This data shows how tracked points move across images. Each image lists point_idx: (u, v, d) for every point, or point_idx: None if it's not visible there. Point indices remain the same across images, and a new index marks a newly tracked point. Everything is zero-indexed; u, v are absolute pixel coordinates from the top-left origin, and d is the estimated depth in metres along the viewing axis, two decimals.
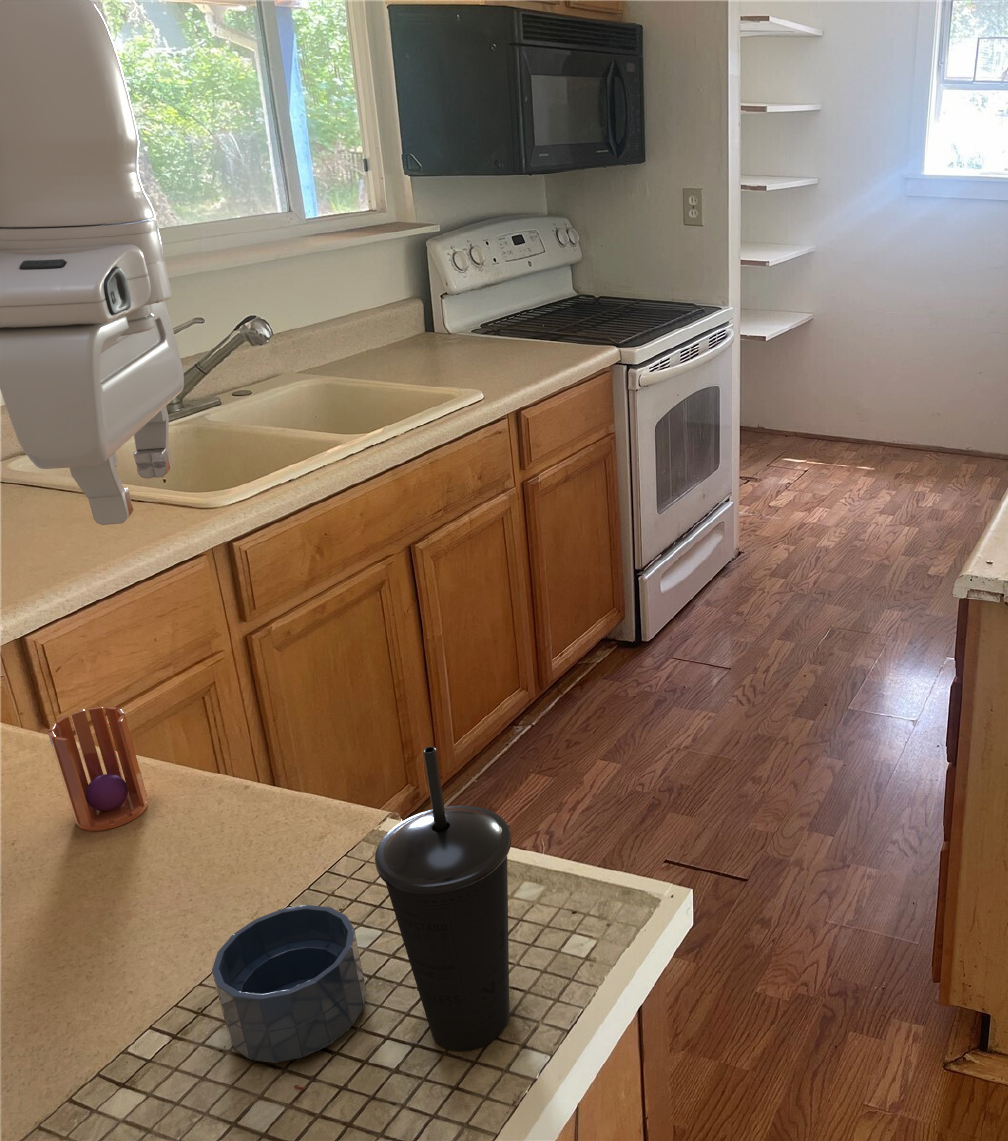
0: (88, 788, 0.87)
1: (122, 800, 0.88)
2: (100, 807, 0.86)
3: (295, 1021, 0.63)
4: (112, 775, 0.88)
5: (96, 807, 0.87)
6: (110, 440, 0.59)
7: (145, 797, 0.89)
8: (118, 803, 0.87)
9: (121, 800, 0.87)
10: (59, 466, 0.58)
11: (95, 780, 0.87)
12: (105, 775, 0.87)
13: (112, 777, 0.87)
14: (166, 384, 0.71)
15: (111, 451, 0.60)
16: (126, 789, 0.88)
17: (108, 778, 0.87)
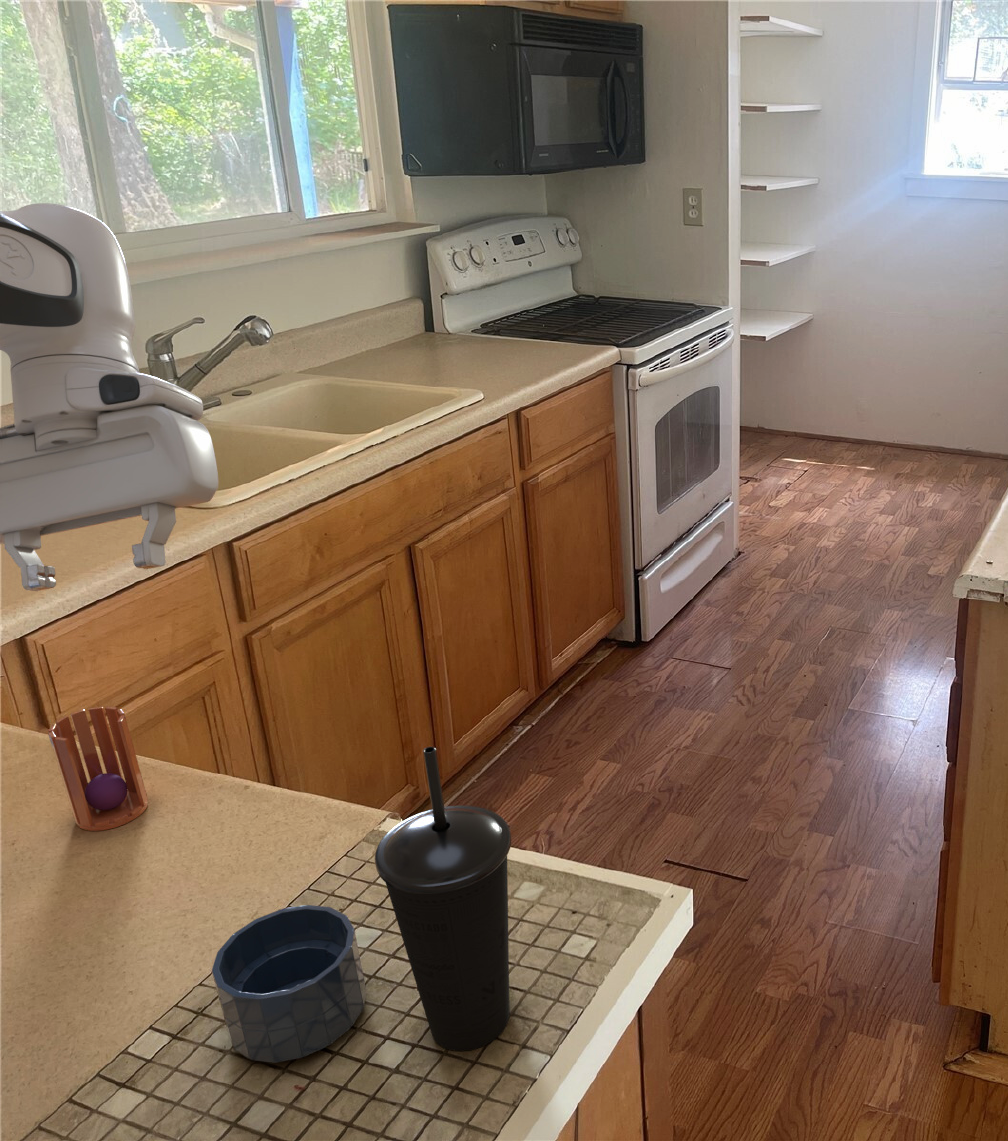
0: (87, 787, 0.87)
1: (121, 798, 0.88)
2: (99, 805, 0.86)
3: (295, 1021, 0.63)
4: (111, 774, 0.88)
5: (95, 806, 0.87)
6: None
7: (145, 797, 0.89)
8: (117, 801, 0.87)
9: (120, 798, 0.87)
10: (197, 494, 0.83)
11: (94, 779, 0.87)
12: (104, 774, 0.88)
13: (111, 775, 0.88)
14: None
15: None
16: (125, 787, 0.88)
17: (107, 776, 0.87)
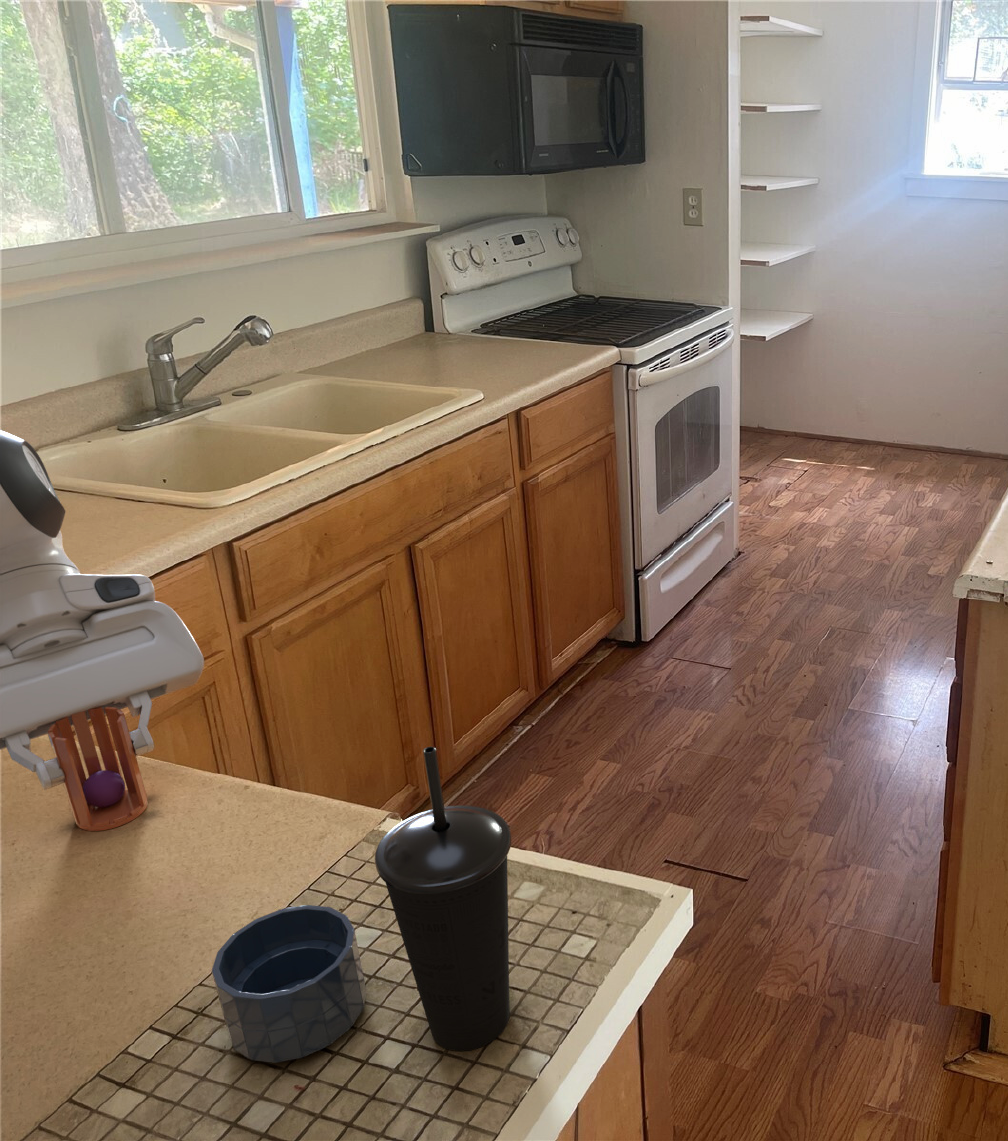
0: (84, 783, 0.87)
1: (117, 790, 0.88)
2: (95, 797, 0.87)
3: (295, 1021, 0.63)
4: (107, 770, 0.89)
5: (92, 798, 0.87)
6: None
7: (145, 797, 0.89)
8: (113, 792, 0.87)
9: (116, 790, 0.88)
10: (200, 673, 0.93)
11: None
12: None
13: (107, 770, 0.88)
14: None
15: None
16: (121, 781, 0.88)
17: (102, 771, 0.88)
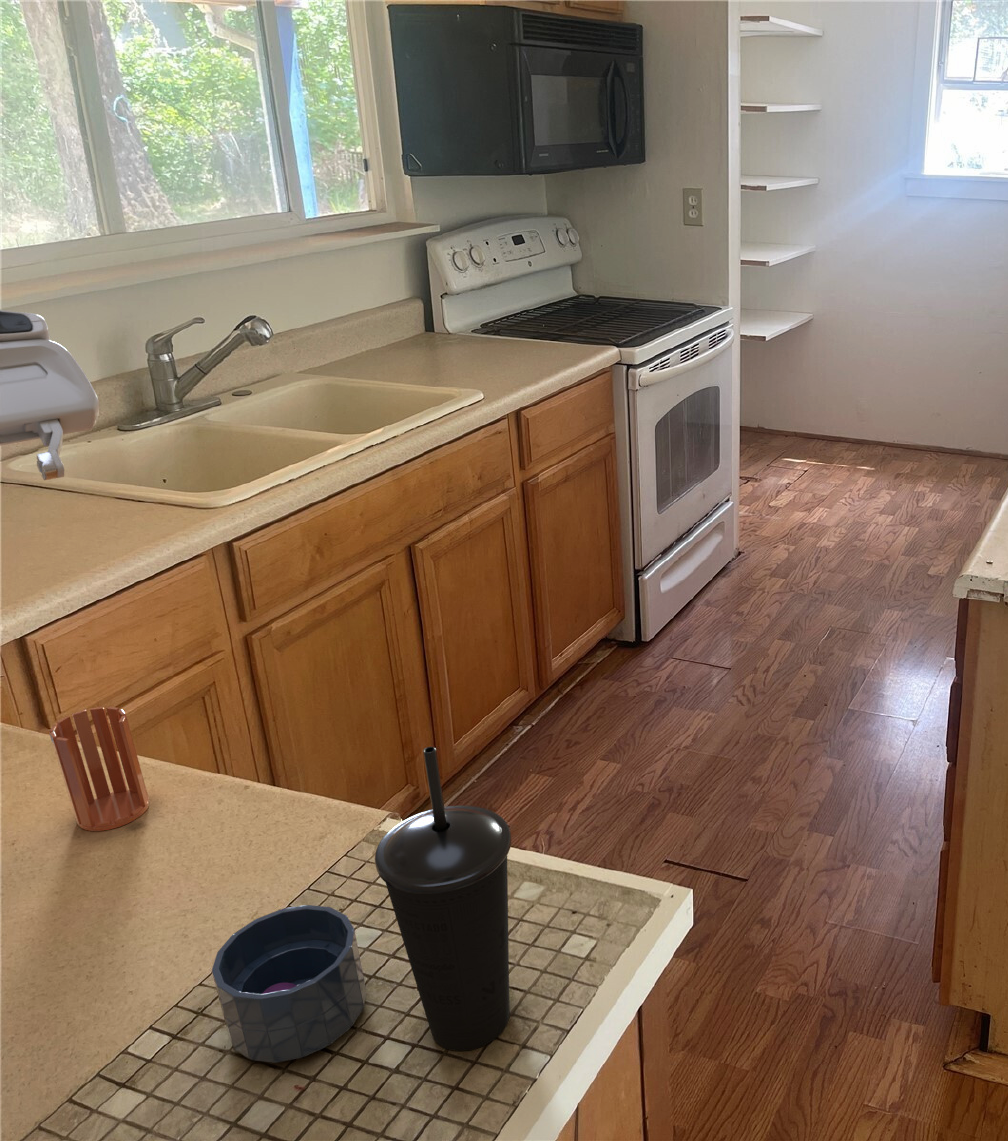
0: None
1: None
2: None
3: (295, 1021, 0.63)
4: None
5: None
6: None
7: (146, 797, 0.89)
8: None
9: None
10: (95, 415, 0.93)
11: None
12: None
13: None
14: None
15: None
16: None
17: None
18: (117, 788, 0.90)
